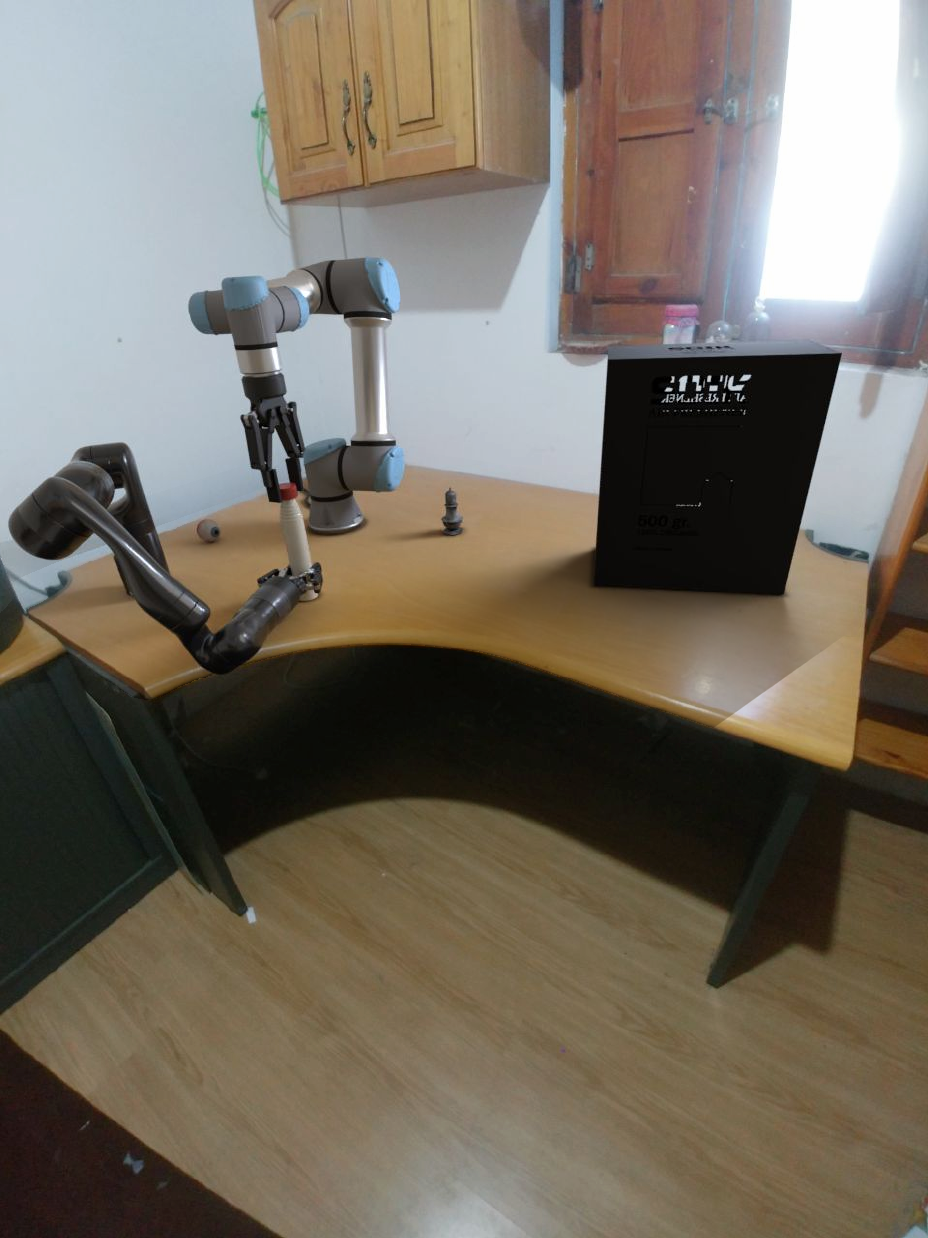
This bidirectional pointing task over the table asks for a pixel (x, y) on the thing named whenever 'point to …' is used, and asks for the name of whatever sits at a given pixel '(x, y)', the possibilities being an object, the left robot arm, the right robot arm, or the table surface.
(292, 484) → the cap
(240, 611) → the left robot arm
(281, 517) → the bottle
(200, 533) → the eyeball
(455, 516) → the salt shaker
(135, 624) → the table surface
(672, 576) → the cardboard box
